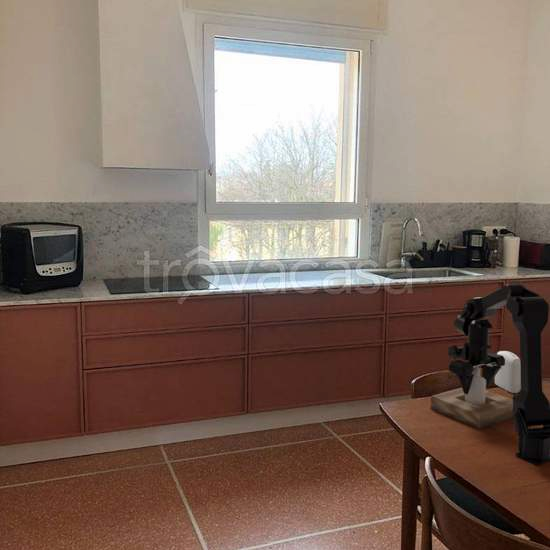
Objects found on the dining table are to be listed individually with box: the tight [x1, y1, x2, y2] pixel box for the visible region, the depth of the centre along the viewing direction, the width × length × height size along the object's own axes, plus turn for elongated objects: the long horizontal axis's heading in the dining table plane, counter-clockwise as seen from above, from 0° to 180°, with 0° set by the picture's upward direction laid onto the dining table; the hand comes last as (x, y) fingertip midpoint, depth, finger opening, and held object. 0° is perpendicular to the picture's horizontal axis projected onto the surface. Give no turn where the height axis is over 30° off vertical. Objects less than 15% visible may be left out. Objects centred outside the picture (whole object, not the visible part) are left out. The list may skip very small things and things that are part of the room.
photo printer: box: [494, 350, 521, 394], centre depth 198 cm, size 10×4×12 cm, turn 13°
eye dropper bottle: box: [465, 366, 487, 405], centre depth 177 cm, size 4×6×12 cm
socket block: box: [430, 387, 514, 429], centre depth 178 cm, size 18×18×4 cm
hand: (475, 391), depth 177 cm, fingers closed on eye dropper bottle, 8 cm apart
